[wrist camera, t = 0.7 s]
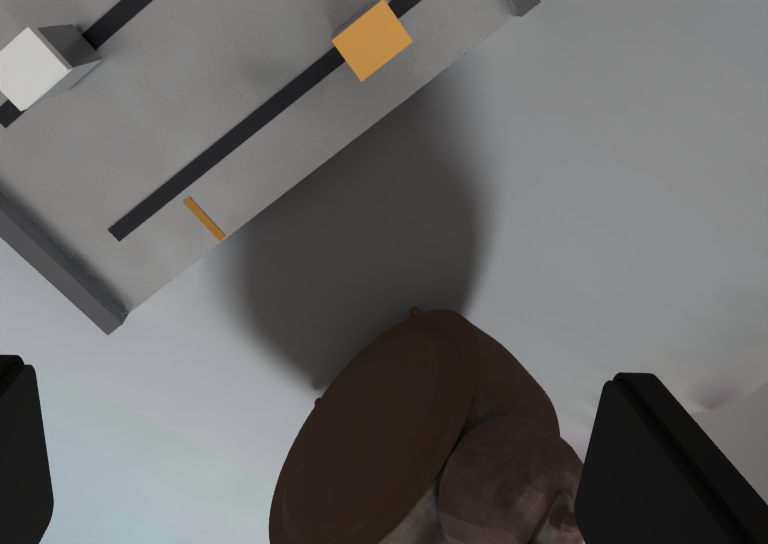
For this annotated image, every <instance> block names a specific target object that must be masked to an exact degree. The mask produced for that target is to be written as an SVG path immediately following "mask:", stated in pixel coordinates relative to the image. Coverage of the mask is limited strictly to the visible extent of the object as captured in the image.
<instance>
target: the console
mask: <svg viewBox="0 0 768 544" xmlns="http://www.w3.org/2000/svg"><path fill="white" fill-rule="evenodd" d="M372 1H373V0H0V51H1V50H3V49H4V48H5V47H6V46H7V45H8V44H9V43H10V42H11V41H13V40H14V39H15V38H16V37H17V36H18V35H19V34H20V33H21V32H23V31H24V30H25V29H26V28H27V27H29V26H35V27H36V28H39V27H48V26H58V25H67V24H72V25H73V26H74V27H75V28H76V29H77V30H78V32H79V33H80V34H81V35H82V36H83V37H84V38H85V39H86V40H87V42H88V43H89V44H90V45H91V46H92V47H93V48H94V49H95V51H96V52H97V53H98V54H99V55H100V56H101V57H102V58H103V60H102V61H100V62H99V63H98V64H97V65H96V66H95V67H93V68H92V69H91V70H90V71H89V72H88V73H87V74H85V75H84V76H83V77H82V78H81V79H80V80H78V81H77V82H76V83H75V84H74V85H73V86H71V87H70V88H69V89H68V90H67V91H66V92H65V93H63V94H60V95H58V96H55V97H52V98H50V99H47V100H44V101H42V102H39V103H36V104H34V105H31V106H30V107H29V108H27V109H25V110H23V111H20V110H19V109H18V108H17V107H16V106H15V105H14V104H13V103H12V102H11V101H10V100H9V99H8V98H7V97H6V96H5V95H4V94H3V93H2V92H1V91H0V237H1V238H2V239H3V240H4V241H5V242H7V243H8V244H9V245H10V246H11V247H12V248H13V249H14V250H15V251H16V252H17V253H19V254H20V255H21V256H22V257H23V258H24V259H25V260H26V261H27V262H28V263H29V264H31V265H32V266H33V267H34V268H35V269H36V270H37V271H38V272H39V273H40V274H41V275H43V276H44V277H45V278H46V279H47V280H48V281H49V282H50V283H51V284H52V285H53V286H55V287H56V288H57V289H58V290H59V291H60V292H61V293H62V294H63V295H64V296H65V297H67V298H68V299H69V300H70V301H71V302H72V303H73V304H74V305H75V306H76V307H77V308H79V309H80V310H81V311H82V312H83V313H84V314H85V315H86V316H87V317H88V318H89V319H91V320H92V321H93V322H94V323H95V324H96V325H97V326H98V327H99V328H100V329H101V330H103V331H104V332H105V333H106V334H107V335H109V334H110V333H112V332H113V331H114V330H115V329H117V328H118V327H119V326H121V325H122V324H123V322H124V321H125V319H126V317H127V316H128V314H129V313H130V312H131V311H133V310H134V309H135V308H137V307H138V306H139V305H140V304H142V303H143V302H144V301H146V300H147V299H148V298H149V297H151V296H152V295H153V294H155V293H156V292H157V291H159V290H160V289H161V288H162V287H164V286H165V285H166V284H168V283H169V282H170V281H172V280H173V279H174V278H175V277H177V276H178V275H179V274H181V273H182V272H183V271H184V270H186V269H187V268H188V267H190V266H191V265H192V264H194V263H195V262H196V261H197V260H199V259H200V258H201V257H203V256H204V255H205V254H206V253H208V252H209V251H210V250H212V249H213V248H214V247H216V246H217V245H218V244H219V243H221V242H222V241H223V240H225V239H226V238H227V237H229V236H230V235H231V234H232V233H234V232H235V231H236V230H238V229H239V228H240V227H241V226H243V225H244V224H245V223H247V222H248V221H249V220H251V219H252V218H253V217H254V216H256V215H257V214H258V213H260V212H261V211H262V210H263V209H265V208H266V207H267V206H269V205H270V204H271V203H273V202H274V201H275V200H276V199H278V198H279V197H280V196H282V195H283V194H284V193H286V192H287V191H288V190H289V189H291V188H292V187H293V186H295V185H296V184H297V183H298V182H300V181H301V180H302V179H304V178H305V177H306V176H308V175H309V174H310V173H311V172H313V171H314V170H315V169H317V168H318V167H319V166H320V165H322V164H323V163H324V162H326V161H327V160H328V159H330V158H331V157H332V156H333V155H335V154H336V153H337V152H339V151H340V150H341V149H343V148H344V147H345V146H346V145H348V144H349V143H350V142H352V141H353V140H354V139H355V138H357V137H358V136H359V135H361V134H362V133H363V132H365V131H366V130H367V129H368V128H370V127H371V126H372V125H374V124H375V123H376V122H377V121H379V120H380V119H381V118H383V117H384V116H385V115H387V114H388V113H389V112H390V111H392V110H393V109H394V108H396V107H397V106H398V105H399V104H401V103H402V102H403V101H405V100H406V99H407V98H409V97H410V96H411V95H412V94H414V93H415V92H416V91H418V90H419V89H420V88H422V87H423V86H424V85H425V84H427V83H428V82H429V81H431V80H432V79H433V78H434V77H436V76H437V75H438V74H440V73H441V72H442V71H444V70H445V69H446V68H447V67H449V66H450V65H451V64H453V63H454V62H455V61H456V60H458V59H459V58H460V57H462V56H463V55H464V54H466V53H467V52H468V51H469V50H471V49H472V48H473V47H475V46H476V45H477V44H479V43H480V42H481V41H482V40H484V39H485V38H486V37H488V36H489V35H490V34H491V33H493V32H494V31H495V30H497V29H498V28H499V27H501V26H502V25H503V24H504V23H506V22H507V21H508V20H510V19H511V18H512V17H513V16H521V17H522V16H523V15H524V14H526V13H527V12H528V11H530V10H531V9H532V8H534V7H535V6H536V5H537V4H539V3H540V0H385V1H386V3H387V4H388V6H389V7H390V9H391V10H392V11H393V13H394V14H395V16H396V17H397V19H398V20H399V22H400V23H401V25H402V26H403V28H404V29H405V31H406V32H407V33H408V35H409V36H410V38H411V39H412V41H413V42H412V43H410V44H409V45H408V46H407V47H405V48H404V49H403V50H401V51H400V52H399V53H398V54H396V55H395V56H394V57H393V58H391V59H390V60H389V61H388V62H386V63H385V64H384V65H382V66H381V67H380V68H379V69H377V70H376V71H375V72H374V73H372V74H371V75H370V76H368V77H367V78H366V79H365V80H363V81H362V82H361V81H360V79H359V78H358V77H357V75H356V74H355V72H354V71H353V70H352V68H351V67H350V66H349V64H348V63H347V62H346V60H345V59H344V58H343V56H342V55H341V53H340V52H339V51H338V49H337V48H336V47H335V45H334V44H333V43H332V41H331V40H332V36H331V35H332V34H333V33H334V32H335V31H336V30H338V29H339V28H340V27H341V26H343V25H344V24H345V23H346V22H348V21H349V20H350V19H351V18H353V17H354V16H355V15H356V14H357V13H359V12H360V11H361V10H362V9H364V8H365V7H366V6H367V5H369V4H370V3H371V2H372Z"/></svg>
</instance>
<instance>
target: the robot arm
mask: <svg viewBox="0 0 768 544" xmlns="http://www.w3.org/2000/svg"><path fill="white" fill-rule="evenodd" d="M53 505H54V500H53V491H52V484H51V477H50V470H49V463H48V456H47V449H46V442H45V435H44V428H43V421H42V414H41V407H40V400H39V393H38V386H37V379H36V373H35V369H34V367H33V366H32V365H24V362H23V360H22V358H21V357H20V356H18V355H0V544H39V542H40V541H41V539H42V537H43V535H44V533H45V531H46V529H47V527H48V525H49V523H50V520H51V517H52V513H53ZM574 515H575V520H576V524H577V526H578V528H579V531H580V533H581V535H582V537H583V539H584V541H585V543H586V544H768V505H767V504H766V503H765V501H764V500H763V499H762V498H761V497H760V496H759V495H758V494H757V492H756V491H755V490H754V489H753V488H752V486H751V485H750V484H749V483H748V482H747V481H746V480H745V478H744V477H743V476H742V475H741V474H740V473H739V471H738V470H737V469H736V468H735V467H734V466H733V464H732V463H731V462H730V461H729V460H728V459H727V458H726V456H725V455H724V454H723V453H722V452H721V451H720V449H719V448H718V447H717V446H716V445H715V444H714V442H713V441H712V440H711V439H710V438H709V437H708V436H707V435H706V433H705V432H704V431H703V430H702V429H701V428H700V426H699V425H698V424H697V423H696V422H695V421H694V419H693V418H692V417H691V416H690V415H689V414H688V412H687V411H686V410H685V409H684V408H683V407H682V405H681V404H680V403H679V402H678V401H677V400H676V399H675V397H674V396H673V395H672V394H671V393H670V392H669V390H668V389H667V388H666V387H665V386H664V385H663V384H662V382H661V381H660V380H659V379H658V378H657V377H656V376H655V375H654V374H651V373H623V372H620V373H618V374H616V375H615V377H614V378H613V381H610V380H609V381H607V382H606V383H605V384H604V386H603V389H602V393H601V397H600V401H599V405H598V409H597V414H596V418H595V422H594V426H593V430H592V434H591V438H590V442H589V446H588V450H587V454H586V458H585V462H584V466H583V470H582V474H581V478H580V482H579V486H578V490H577V494H576V498H575V503H574Z"/></svg>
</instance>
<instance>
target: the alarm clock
mask: <svg viewBox="0 0 768 544" xmlns="http://www.w3.org/2000/svg"><path fill="white" fill-rule="evenodd" d="M410 315H411V317H410V318H408V319H406V320H404V321H402V322H400V323H399V324H397V325H395V326H394V327H392V328H390V329H389V330H388V331H386V332H385V333H383V334H382V335H381V336H379V337H378V338H377V339H375V340H374V341H373V342H372V343H371V344H369V345H368V346H367V347H366V348H365V349H364V350H363V351H361V352H360V353H359V354H358V355H357V356H356V357H355V358H354V359H353V360H352V361H351V362H350V363H349V364H348V365H347V367H346V368H345V369H344V370H343V371H342V372H341V373H340V374H339V375H338V377H337V378H336V379H335V380H334V381H333V383H332V384H331V385H330V386H329V388H328V389H327V390H326V392H325V393H324V394H323V396H322V397H321V398H318V399H316V401H315V407H314V408H313V410H312V412H311V413H310V415H309V416H308V418H307V419H306V421H305V423H304V424H303V426H302V428H301V430H300V431H299V433H298V435H297V437H296V439H295V441H294V443H293V445H292V447H291V449H290V451H289V453H288V455H287V458H286V460H285V462H284V465H283V467H282V470H281V472H280V475H279V478H278V481H277V484H276V488H275V491H274V495H273V499H272V504H271V510H270V517H269V540H270V544H581V543H582V541H583V537H582V535H581V533H580V531H579V528H578V526H577V524H576V520H575V515H574V503H575V498H576V494H577V490H578V486H579V482H580V478H581V474H582V470H583V466H584V465H583V463H582V462H581V460H580V459H579V457H578V456H577V454H576V453H575V451H574V450H573V448H572V447H571V446H570V445H569V444H568V443H567V442H566V441H565V440H564V439H562V438H561V437H560V431H559V424H558V419H557V415H556V412H555V409H554V407H553V404H552V402H551V400H550V398H549V397H548V395H547V394H546V393H545V391H544V390H543V389H542V387H541V386H540V385H539V384H538V383H537V382H536V380H535V379H534V378H533V377H532V376H531V375H530V374H529V373H528V372H527V370H526V369H525V368H524V367H523V366H522V365H521V364H520V363H519V362H518V360H517V359H516V358H515V357H514V356H513V355H512V354H511V353H510V352H509V351H508V350H507V349H506V348H505V347H503V346H502V345H501V344H500V343H499V342H498V341H496V340H495V339H494V338H492V337H491V336H489V335H488V334H486V333H485V332H483V331H482V330H480V329H479V328H477V327H476V326H475V325H473V324H472V323H470V322H469V321H468V320H467V319H465V318H464V317H463V316H461V315H460V314H458V313H456V312H453V311H448V310H432V311H428V312H424V313H421V310H420V309H419V308H418V307H413V308H412V309H411V310H410Z"/></svg>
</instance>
